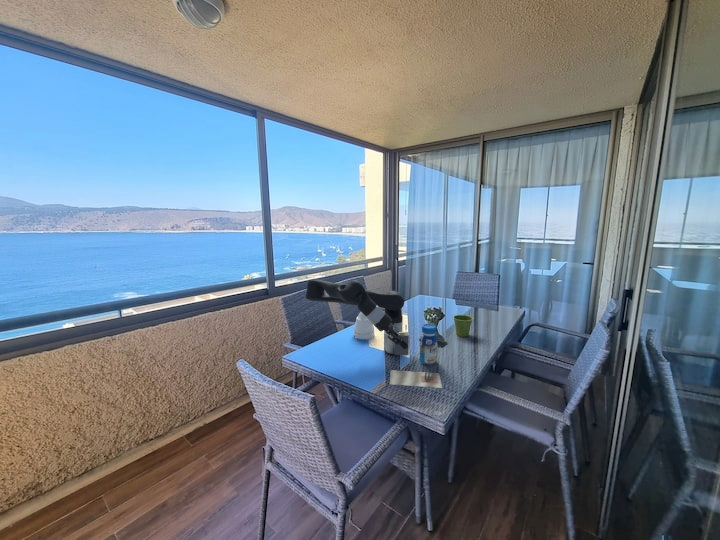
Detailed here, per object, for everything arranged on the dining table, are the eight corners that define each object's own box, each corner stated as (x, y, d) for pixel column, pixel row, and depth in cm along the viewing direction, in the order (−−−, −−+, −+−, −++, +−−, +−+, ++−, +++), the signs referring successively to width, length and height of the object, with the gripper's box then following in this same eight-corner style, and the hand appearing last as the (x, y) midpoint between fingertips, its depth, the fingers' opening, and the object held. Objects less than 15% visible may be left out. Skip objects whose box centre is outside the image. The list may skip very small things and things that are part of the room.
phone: (425, 335, 178) (447, 342, 169) (424, 337, 179) (447, 343, 169) (418, 339, 173) (441, 346, 163) (418, 341, 173) (441, 348, 163)
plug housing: (394, 354, 126) (394, 333, 124) (395, 350, 130) (395, 330, 128) (408, 355, 125) (409, 334, 123) (408, 351, 129) (408, 331, 127)
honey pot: (377, 337, 178) (377, 309, 175) (358, 341, 173) (357, 312, 170) (369, 330, 190) (369, 304, 187) (350, 333, 185) (350, 306, 182)
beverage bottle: (424, 358, 150) (425, 321, 147) (439, 363, 145) (441, 325, 141) (416, 364, 143) (417, 326, 140) (432, 370, 138) (433, 330, 135)
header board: (389, 387, 124) (389, 377, 123) (390, 373, 136) (390, 364, 135) (442, 391, 121) (442, 381, 120) (438, 376, 133) (439, 367, 132)
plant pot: (469, 331, 186) (470, 314, 184) (474, 338, 175) (475, 321, 173) (450, 331, 187) (451, 314, 186) (454, 338, 176) (455, 320, 174)
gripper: (374, 318, 134) (400, 344, 134) (371, 329, 120) (400, 358, 120) (385, 307, 132) (412, 334, 132) (383, 317, 118) (413, 347, 119)
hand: (406, 345), depth 126 cm, fingers closed on plug housing, 4 cm apart
